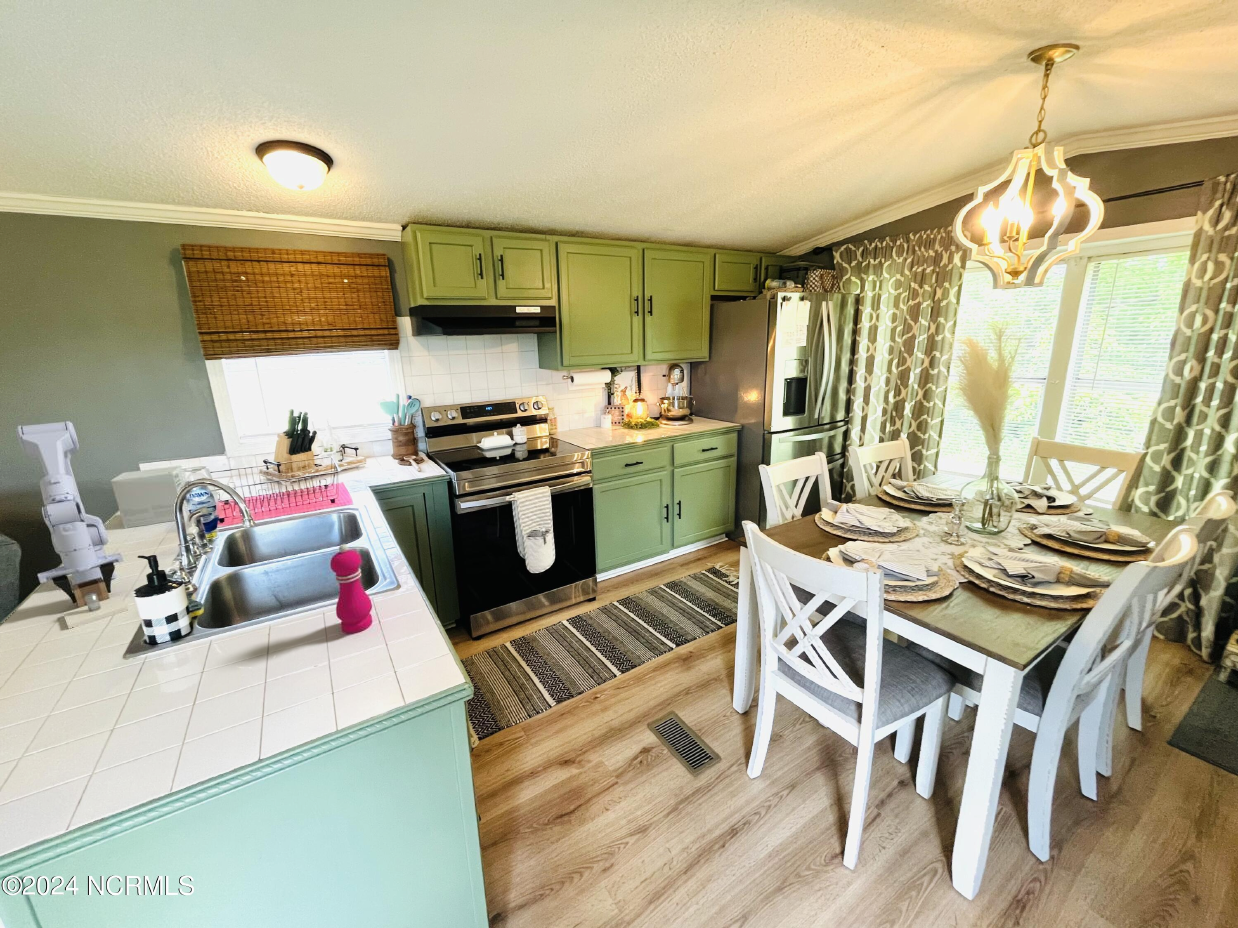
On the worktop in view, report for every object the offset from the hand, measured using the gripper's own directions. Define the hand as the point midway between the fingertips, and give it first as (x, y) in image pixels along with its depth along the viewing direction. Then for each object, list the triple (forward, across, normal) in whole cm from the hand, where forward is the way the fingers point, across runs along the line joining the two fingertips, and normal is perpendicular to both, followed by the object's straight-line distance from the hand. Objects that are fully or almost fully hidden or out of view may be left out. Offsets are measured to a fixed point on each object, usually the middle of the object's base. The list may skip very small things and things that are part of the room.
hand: (92, 596), depth 126 cm
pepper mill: (+2, +35, -67) cm, 76 cm away
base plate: (+1, 0, -8) cm, 9 cm away
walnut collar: (+1, 0, 0) cm, 1 cm away
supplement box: (+2, +25, +67) cm, 71 cm away
